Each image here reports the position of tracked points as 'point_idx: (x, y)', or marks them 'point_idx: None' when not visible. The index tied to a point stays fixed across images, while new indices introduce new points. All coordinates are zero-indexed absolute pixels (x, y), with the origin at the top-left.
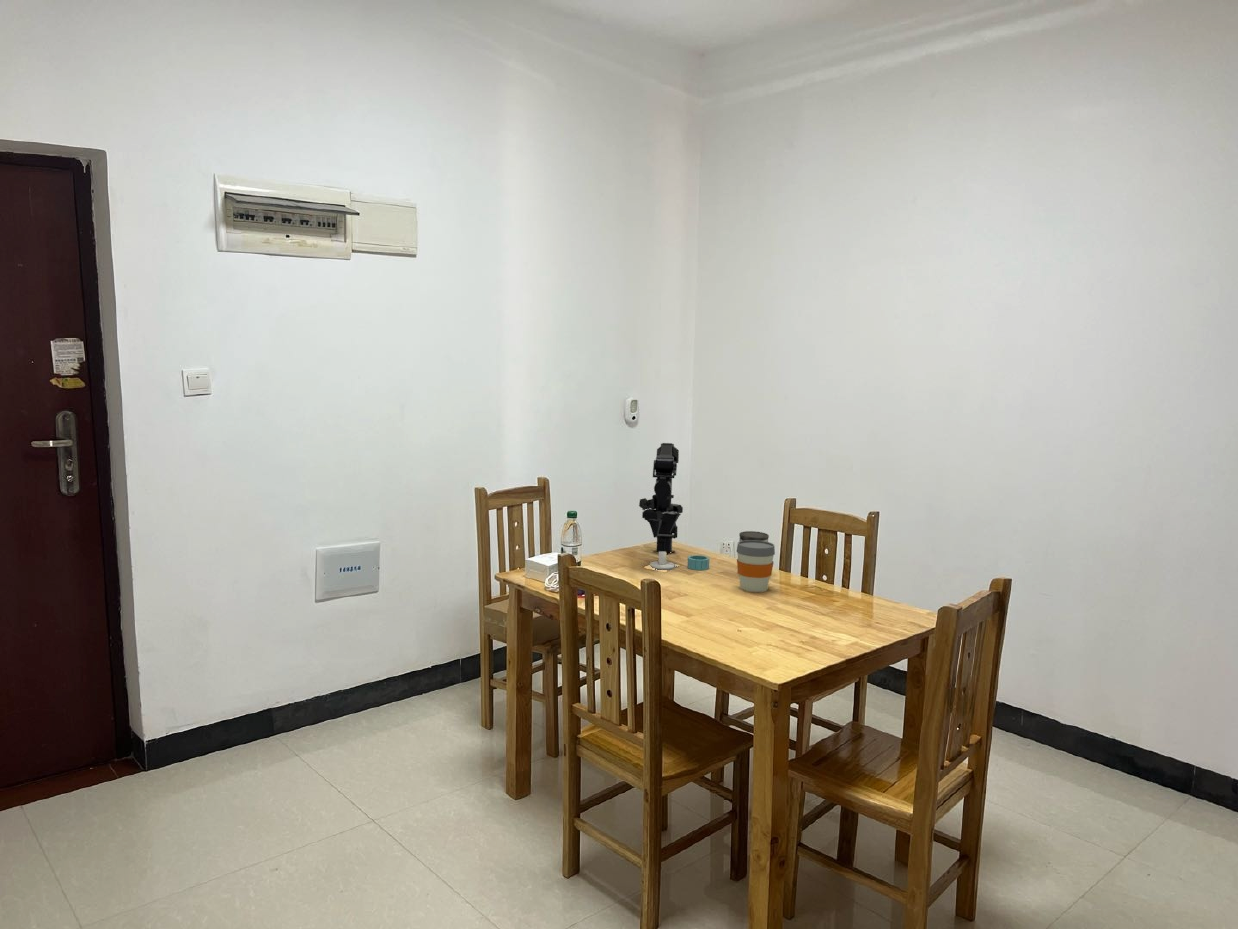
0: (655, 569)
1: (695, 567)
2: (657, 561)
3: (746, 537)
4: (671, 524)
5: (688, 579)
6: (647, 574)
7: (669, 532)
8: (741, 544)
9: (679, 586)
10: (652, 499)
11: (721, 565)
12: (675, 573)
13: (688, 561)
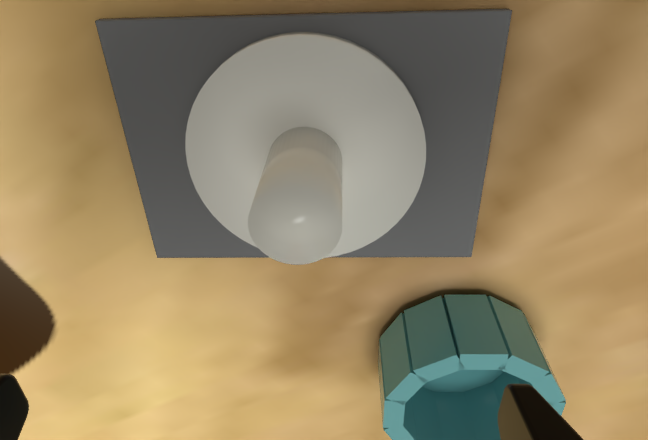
0: (171, 169)
1: (379, 379)
2: (366, 72)
3: None
4: None
5: (179, 400)
6: (33, 175)
7: (500, 428)
8: None
9: (28, 419)
10: None
11: (622, 404)
12: (231, 301)
13: (402, 356)
